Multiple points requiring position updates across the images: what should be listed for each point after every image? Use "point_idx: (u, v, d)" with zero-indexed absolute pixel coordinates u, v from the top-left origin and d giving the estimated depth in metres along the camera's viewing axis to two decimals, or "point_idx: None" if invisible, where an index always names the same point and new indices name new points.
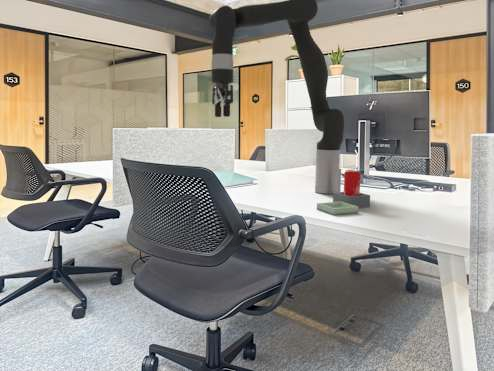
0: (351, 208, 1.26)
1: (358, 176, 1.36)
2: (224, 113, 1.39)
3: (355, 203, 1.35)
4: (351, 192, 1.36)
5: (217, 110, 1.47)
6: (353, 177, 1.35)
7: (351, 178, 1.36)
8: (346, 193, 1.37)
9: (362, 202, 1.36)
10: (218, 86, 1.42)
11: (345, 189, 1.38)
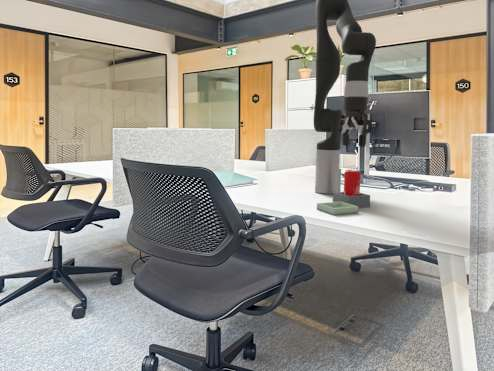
0: (351, 208, 1.26)
1: (358, 176, 1.36)
2: (360, 143, 1.32)
3: (355, 203, 1.35)
4: (351, 192, 1.36)
5: (345, 138, 1.39)
6: (353, 177, 1.35)
7: (351, 178, 1.36)
8: (346, 193, 1.37)
9: (362, 202, 1.36)
10: (350, 114, 1.35)
11: (345, 189, 1.38)
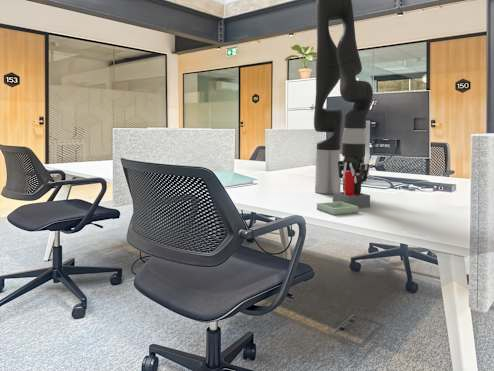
0: (351, 208, 1.26)
1: (358, 176, 1.36)
2: (355, 191, 1.35)
3: (355, 203, 1.35)
4: (351, 192, 1.36)
5: None
6: (353, 177, 1.35)
7: (351, 178, 1.36)
8: (346, 193, 1.37)
9: (362, 202, 1.36)
10: (348, 159, 1.37)
11: (345, 189, 1.38)
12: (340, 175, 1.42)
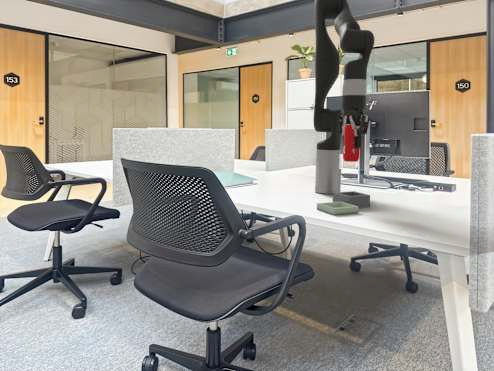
0: (351, 208, 1.26)
1: (358, 129, 1.32)
2: (355, 145, 1.31)
3: (355, 203, 1.35)
4: (351, 146, 1.32)
5: None
6: (353, 131, 1.31)
7: (351, 131, 1.31)
8: (346, 147, 1.33)
9: (362, 202, 1.36)
10: (348, 113, 1.33)
11: (345, 143, 1.33)
12: (340, 131, 1.38)
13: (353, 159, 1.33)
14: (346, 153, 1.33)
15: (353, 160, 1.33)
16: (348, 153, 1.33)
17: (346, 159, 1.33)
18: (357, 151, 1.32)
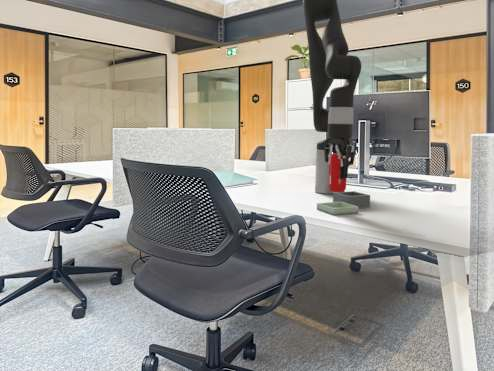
0: (351, 208, 1.26)
1: None
2: (341, 175, 1.25)
3: (355, 203, 1.35)
4: (337, 177, 1.26)
5: None
6: (339, 161, 1.25)
7: (337, 161, 1.25)
8: (332, 178, 1.27)
9: (362, 202, 1.36)
10: (334, 141, 1.27)
11: (331, 173, 1.27)
12: (326, 159, 1.32)
13: (339, 190, 1.27)
14: (332, 184, 1.27)
15: (339, 191, 1.27)
16: (334, 184, 1.27)
17: (332, 190, 1.27)
18: (343, 181, 1.26)
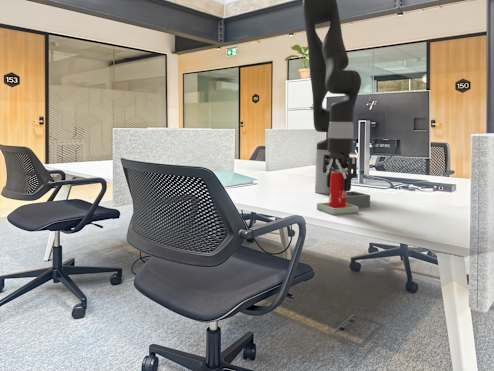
0: (351, 208, 1.26)
1: None
2: (345, 188, 1.24)
3: (355, 203, 1.35)
4: (338, 195, 1.27)
5: None
6: (339, 179, 1.26)
7: (337, 180, 1.26)
8: (332, 196, 1.28)
9: (362, 202, 1.36)
10: (335, 155, 1.28)
11: (331, 192, 1.28)
12: (324, 170, 1.33)
13: None
14: (332, 202, 1.28)
15: None
16: (334, 202, 1.27)
17: None
18: (343, 200, 1.27)
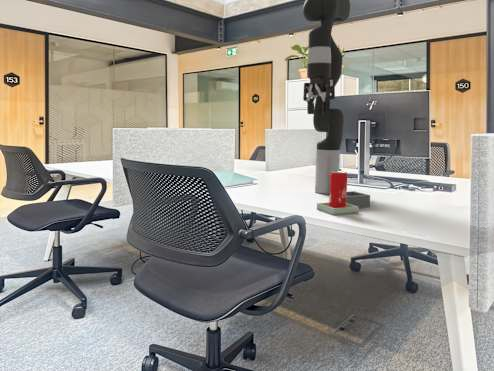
0: (351, 208, 1.26)
1: (345, 178, 1.26)
2: (324, 110, 1.31)
3: (355, 203, 1.35)
4: (338, 195, 1.27)
5: (310, 107, 1.38)
6: (339, 180, 1.26)
7: (337, 180, 1.26)
8: (332, 196, 1.28)
9: (362, 202, 1.36)
10: (314, 81, 1.34)
11: (331, 192, 1.28)
12: (304, 98, 1.40)
13: None
14: (332, 202, 1.28)
15: None
16: (334, 202, 1.27)
17: None
18: (343, 200, 1.27)
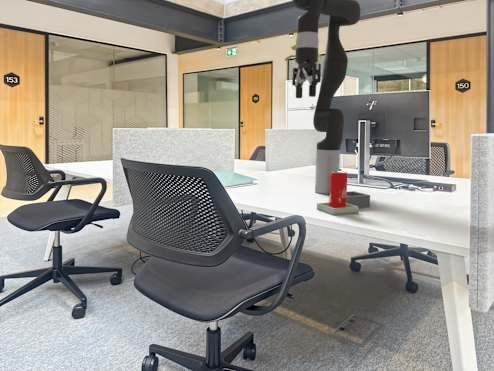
0: (351, 208, 1.26)
1: (345, 178, 1.26)
2: (310, 93, 1.35)
3: (355, 203, 1.35)
4: (338, 195, 1.27)
5: (298, 91, 1.43)
6: (339, 179, 1.26)
7: (337, 180, 1.26)
8: (332, 196, 1.28)
9: (362, 202, 1.36)
10: (302, 66, 1.39)
11: (331, 192, 1.28)
12: (293, 82, 1.45)
13: None
14: (332, 202, 1.28)
15: None
16: (334, 202, 1.27)
17: None
18: (343, 200, 1.27)
